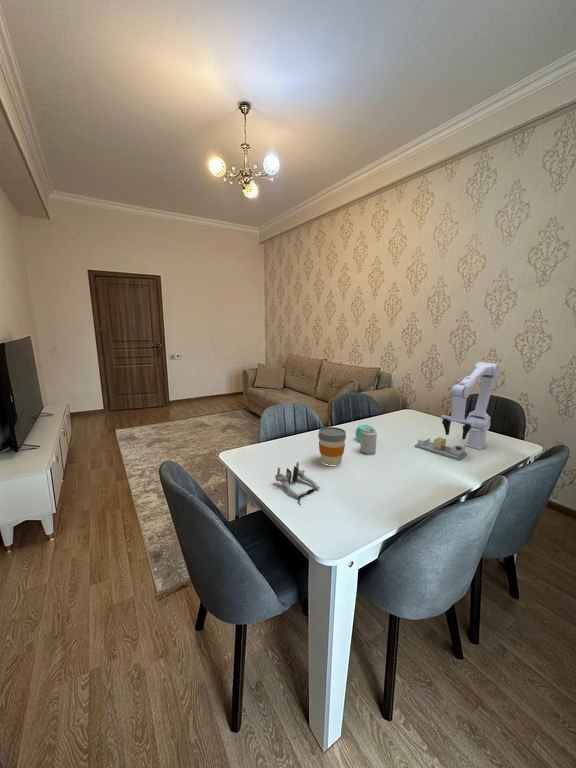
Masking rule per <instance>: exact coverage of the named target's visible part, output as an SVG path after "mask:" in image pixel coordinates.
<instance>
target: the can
mask: <svg viewBox="0 0 576 768" xmlns="http://www.w3.org/2000/svg"><path fill="white" fill-rule="evenodd" d="M377 433H378V432H377V431H376V428H375V427H374V428H368V427H367V428H363V430H362V431H361V442H360V448H359V450H360V451H361V452H362V454H365V453H366V454H365V455H373V454H374V453H376V451H377V450H376V449H377V435H378V434H377Z"/></svg>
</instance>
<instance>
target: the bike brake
mask: <svg viewBox="0 0 576 768" xmlns="http://www.w3.org/2000/svg"><path fill="white" fill-rule="evenodd" d="M299 465H300V461H297V462H296V465H294V466H293V471H292V470H290V469H289V468H288V467H287V468H286V470H285V471H286V472H285V475H284V474H283V473H282V472H281V467H277V472H276V474H275V477H274V479H275V481H276V482H280V484H282V485H283V487H284V488H285V489H286V491H287V492H288V493H289V494H290V495H291V496H293V497H294V498H295V497H296V499H297V498H298V499H297V501H298V500H299V502H300V503H301V498H302V497H301V496H302V495H306V496H307V495H309V493H310V494H311V492H312V493H313V492H315V491H316V490H315V489H320V485H317V483H316V482H315V481H313V479H311V478H309V477H308V476H306V474H305V472H306V471H305V470H304V469H303V470H301V469H299ZM298 478H299V479H301V480H302V481H305V482H307V483H308V484H311V485H312V486H313V488H311V489H308V490H306V491H302V492H300V493H296V492H295V491H294V490H292V488H291V487H290V486H291V481H292V482H294V483H295V482H297V483H298ZM289 485H290V486H289ZM314 487H315V488H314ZM299 502H298V503H299Z"/></svg>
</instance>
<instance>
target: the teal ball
mask: <svg viewBox="0 0 576 768" xmlns="http://www.w3.org/2000/svg"><path fill="white" fill-rule="evenodd" d="M367 427H368V428H374V429H375V427H374V426H373V425H370V424H360V425H359V426H357V428H356V430H355V438H356V439H357V440H358V442H359V441H360V442H359V443H361V431H362V430H363V428H367Z"/></svg>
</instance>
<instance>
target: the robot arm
mask: <svg viewBox="0 0 576 768" xmlns="http://www.w3.org/2000/svg"><path fill="white" fill-rule="evenodd" d="M500 372H501V367H500V365H499V363H494V362H493V363H492V362H484V361H483V362H482V361H477V362H476V363H475V365H474V367H473V372H472V373H470V375H467V376H465V377H464V378H463V379H462V380H461V381H460V382H458V384H454V385H452V387H451V389H450V395H451V400H452V402H451V403H452V404H451V412H450V415H445V414H442V415H440V420H442V421H441V423H442V425H443V428H444V432H445V435H446V436H449V435H450V428H451V424H452V422H454V423H457V424H462V438H461V440H466V439H467V442H465V443H464V444H463V445H464V447H465V446H466V447H470V448H472V449H476V450H480V451H481V450H483V449H484V448H485V447H487V446H488V444H486V440H487V439H486V438H487V431H488V430H489V429H490V427H491V419H492V417H491V416H490V415H489V414H488V413H487V409H488V406H489V403H490V402H489V401H490V397H491V394H492V389H493V386H494V383H495V382H496V381H498V379H499V376H500ZM479 379H481V384H480V389H479V392H478V396H477V401H476V405H475V408H474V410H473V411H470V412H469V413H468V415H467V417H466V418H465V414H466V405H467V399H468V398H469V397H470V394H471V393H472V389H474V387H475V386H477V382H478V380H479Z"/></svg>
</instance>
